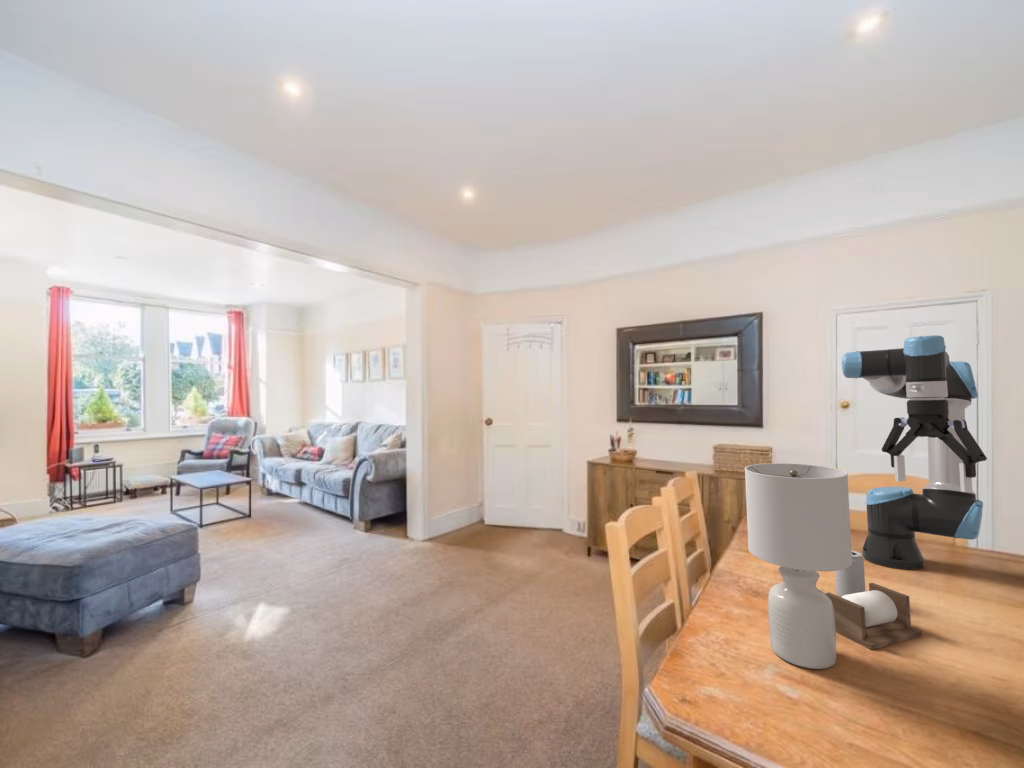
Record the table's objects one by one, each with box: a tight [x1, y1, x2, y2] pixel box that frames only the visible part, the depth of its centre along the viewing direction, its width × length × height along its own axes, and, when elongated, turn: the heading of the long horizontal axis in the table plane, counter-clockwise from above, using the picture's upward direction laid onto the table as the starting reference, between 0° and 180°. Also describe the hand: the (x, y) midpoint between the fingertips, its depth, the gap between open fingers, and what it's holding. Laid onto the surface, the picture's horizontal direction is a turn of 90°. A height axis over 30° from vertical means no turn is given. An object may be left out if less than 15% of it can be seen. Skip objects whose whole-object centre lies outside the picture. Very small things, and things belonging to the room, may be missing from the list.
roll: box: [842, 590, 897, 628], centre depth 105 cm, size 9×7×7 cm
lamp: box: [744, 462, 853, 670], centre depth 97 cm, size 19×19×39 cm
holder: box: [825, 582, 923, 650], centre depth 105 cm, size 16×12×8 cm
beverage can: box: [834, 549, 866, 597], centre depth 121 cm, size 6×6×12 cm
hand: (931, 485), depth 110 cm, fingers open, 13 cm apart
